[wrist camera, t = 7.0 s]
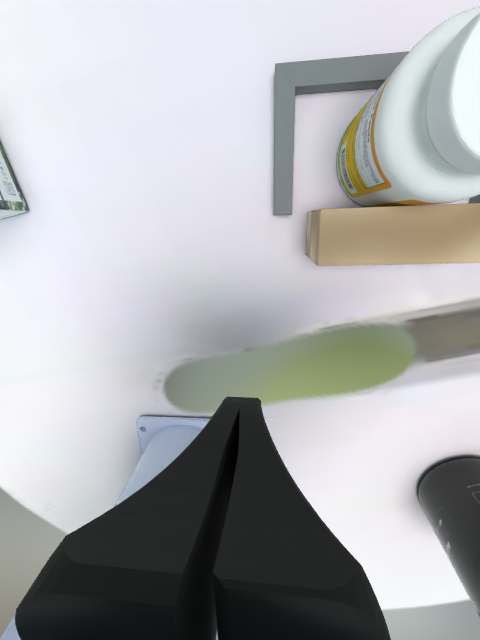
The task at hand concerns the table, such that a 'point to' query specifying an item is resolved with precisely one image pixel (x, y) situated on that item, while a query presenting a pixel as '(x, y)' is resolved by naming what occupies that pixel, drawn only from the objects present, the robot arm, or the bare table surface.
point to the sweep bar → (394, 235)
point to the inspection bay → (318, 80)
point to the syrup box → (9, 191)
